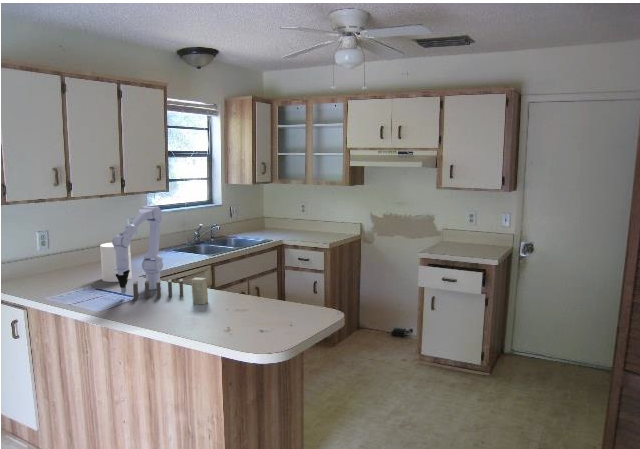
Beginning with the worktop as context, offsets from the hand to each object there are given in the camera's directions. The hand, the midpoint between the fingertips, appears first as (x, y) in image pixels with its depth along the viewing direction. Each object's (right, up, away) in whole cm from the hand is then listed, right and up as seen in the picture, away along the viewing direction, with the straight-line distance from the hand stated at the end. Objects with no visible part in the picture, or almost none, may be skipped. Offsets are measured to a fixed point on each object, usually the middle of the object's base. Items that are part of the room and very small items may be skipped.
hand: (123, 286), depth 247 cm
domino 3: (+11, -6, +4) cm, 13 cm away
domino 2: (+5, -6, +2) cm, 9 cm away
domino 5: (+21, -6, +6) cm, 23 cm away
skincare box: (+39, -8, -6) cm, 40 cm away
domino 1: (0, -3, 0) cm, 3 cm away
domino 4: (+16, -6, +5) cm, 18 cm away
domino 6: (+27, -6, +8) cm, 28 cm away
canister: (-20, -1, +42) cm, 46 cm away
